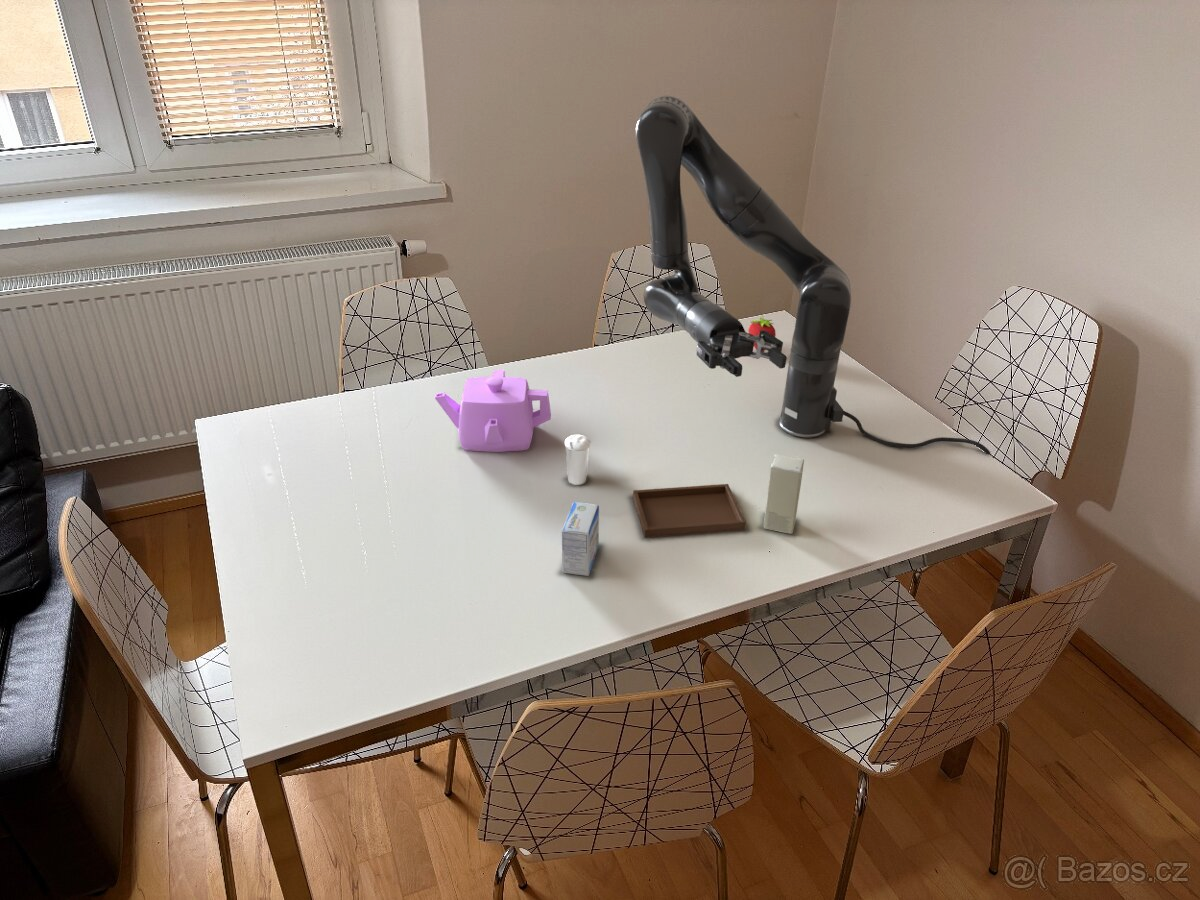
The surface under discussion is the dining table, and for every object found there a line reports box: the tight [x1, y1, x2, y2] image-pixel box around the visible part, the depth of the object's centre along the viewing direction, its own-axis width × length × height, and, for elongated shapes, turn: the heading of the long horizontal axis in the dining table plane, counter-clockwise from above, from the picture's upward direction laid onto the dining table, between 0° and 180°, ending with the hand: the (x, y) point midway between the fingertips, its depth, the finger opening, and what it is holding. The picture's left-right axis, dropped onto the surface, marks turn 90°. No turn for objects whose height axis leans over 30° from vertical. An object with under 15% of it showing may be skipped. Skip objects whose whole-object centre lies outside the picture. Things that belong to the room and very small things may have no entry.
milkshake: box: [564, 434, 591, 486], centre depth 157 cm, size 4×5×10 cm
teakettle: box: [434, 369, 552, 453], centre depth 169 cm, size 17×17×12 cm
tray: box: [632, 483, 747, 539], centre depth 152 cm, size 17×11×2 cm, turn 98°
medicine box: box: [560, 501, 600, 577], centre depth 139 cm, size 8×4×9 cm, turn 168°
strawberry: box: [748, 313, 777, 352], centre depth 203 cm, size 6×8×10 cm
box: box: [763, 453, 805, 535], centre depth 147 cm, size 5×4×13 cm
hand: (762, 367), depth 145 cm, fingers open, 8 cm apart
